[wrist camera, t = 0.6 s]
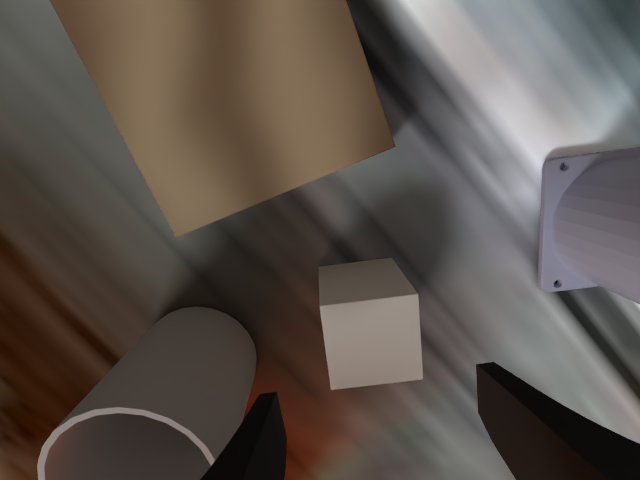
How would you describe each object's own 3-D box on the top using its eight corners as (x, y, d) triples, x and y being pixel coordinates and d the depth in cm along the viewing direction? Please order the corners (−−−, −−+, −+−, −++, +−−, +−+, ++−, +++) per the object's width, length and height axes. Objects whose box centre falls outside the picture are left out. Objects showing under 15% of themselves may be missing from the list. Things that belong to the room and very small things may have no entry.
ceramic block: (391, 257, 21) (418, 294, 15) (396, 323, 22) (422, 379, 16) (318, 266, 21) (319, 306, 15) (327, 331, 22) (330, 390, 16)
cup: (270, 318, 21) (239, 430, 13) (236, 442, 24) (192, 607, 15) (156, 290, 21) (44, 387, 12) (133, 420, 23) (26, 579, 15)
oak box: (301, -88, 17) (299, -139, 14) (383, 147, 19) (395, 146, 16) (88, 15, 18) (43, -12, 15) (196, 225, 20) (176, 237, 17)
